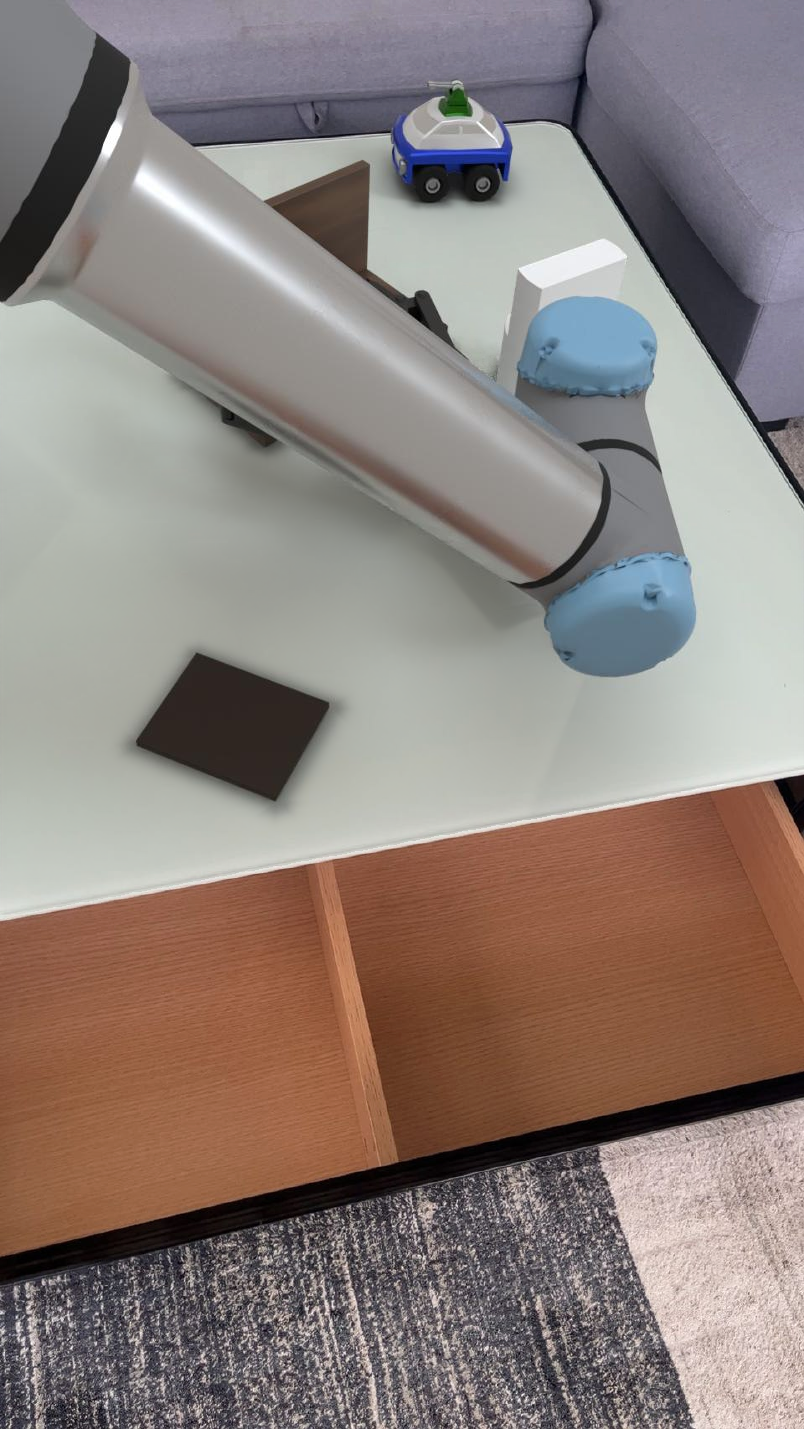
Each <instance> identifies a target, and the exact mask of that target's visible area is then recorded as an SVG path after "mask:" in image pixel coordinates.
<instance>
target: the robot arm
mask: <svg viewBox="0 0 804 1429" xmlns="http://www.w3.org/2000/svg"><path fill="white" fill-rule="evenodd" d="M404 295H405V294H404ZM404 295H395V294H393V293H392V292H391V291H389V290H388V289H386V288H385V287H383V286H382V285H381V284H379V283H378V282H375V281H372V280H371V281H369V282H368V281H367V280H366V279H364V278H363V277H361V276H360V275H359V274H357V273H356V272H355V271H353V270H352V269H350V268H349V267H348V266H346V265H345V264H344V263H342V262H341V261H340V260H338V259H337V258H336V257H335V256H333V255H332V254H331V253H329V252H328V251H327V250H326V249H324V248H323V247H322V246H320V245H319V244H318V243H317V242H315V241H314V240H313V239H311V238H310V237H309V236H308V235H306V234H305V233H304V232H302V231H301V230H300V229H299V228H297V227H296V226H295V225H293V224H292V223H291V222H290V221H288V220H287V219H286V218H284V217H283V216H282V215H280V214H279V213H278V212H277V211H275V210H274V209H273V208H271V207H270V206H269V205H268V204H266V203H265V202H264V200H262V199H261V198H260V197H259V196H257V194H255V193H253V191H251V190H250V189H249V188H247V187H246V186H245V185H244V184H242V183H241V182H240V181H238V180H237V179H236V178H234V177H233V176H231V174H229V173H228V172H226V171H225V169H223V168H221V167H220V165H217V164H216V163H215V162H214V161H212V160H211V159H209V157H207V156H206V155H204V154H203V153H202V152H200V151H199V150H198V149H196V148H195V147H194V146H193V145H192V144H190V142H188V141H187V140H185V139H184V138H182V136H180V135H179V134H177V133H176V132H175V131H173V129H171V128H170V127H168V126H167V125H166V124H164V123H163V122H162V121H161V120H159V118H157V117H155V116H154V115H153V113H152V112H151V109H150V106H149V104H148V102H147V98H146V93H145V89H144V86H143V81H142V77H141V73H140V69H139V67H138V64H137V63H135V62H134V61H133V60H131V59H130V58H129V57H128V56H127V55H126V54H124V53H123V52H122V51H121V50H119V49H118V48H117V47H115V46H114V45H113V44H112V43H110V42H109V41H108V40H106V38H104V37H103V36H102V35H100V34H99V33H98V32H97V31H95V30H94V29H92V27H90V26H89V25H88V24H87V23H86V22H85V21H84V20H83V19H82V18H81V16H79V15H78V14H77V13H76V12H75V11H74V10H73V8H72V7H71V6H70V5H69V3H68V2H67V1H66V0H0V303H1V304H3V305H4V306H6V307H10V308H11V307H15V306H21V305H25V304H32V303H36V302H41V301H49V302H54V303H55V304H56V305H58V306H60V307H62V308H63V309H65V310H66V311H68V312H69V313H71V314H73V315H74V316H76V317H78V318H80V320H83V321H84V322H86V323H87V324H89V325H91V326H92V327H94V328H95V329H97V330H99V331H101V332H102V333H103V334H105V335H107V336H109V337H110V338H112V339H113V340H114V341H117V342H118V343H120V344H121V345H123V346H124V347H127V348H128V349H129V350H131V351H133V352H135V353H136V354H138V355H140V357H143V358H145V359H146V360H147V361H149V362H151V363H153V365H155V366H157V367H158V368H161V369H162V370H164V371H165V372H167V373H169V374H170V375H172V376H173V377H175V378H177V379H179V380H180V381H181V382H183V383H184V384H187V385H188V386H189V387H191V388H193V389H194V390H196V391H197V392H199V393H201V394H202V393H203V394H204V395H206V396H207V397H209V398H211V399H212V400H214V401H216V402H217V403H219V404H220V408H219V411H220V419H221V422H222V423H223V424H225V425H228V426H231V427H234V428H238V429H240V430H243V431H245V430H247V431H250V432H253V433H256V434H259V435H263V436H266V437H269V438H272V439H275V440H278V441H279V442H281V443H282V444H283V445H285V446H287V447H288V448H290V449H292V450H294V452H297V453H298V454H300V455H302V456H303V457H304V458H306V459H308V460H309V461H311V462H313V463H315V464H316V465H318V466H319V467H321V468H323V469H324V470H326V471H328V472H329V473H331V474H332V475H334V476H335V477H337V478H339V479H340V480H342V481H344V482H345V483H347V484H348V485H350V486H352V487H353V488H355V489H357V490H358V491H360V492H361V493H363V494H365V495H367V496H368V497H370V498H371V499H373V500H375V501H376V502H378V503H380V504H381V505H382V506H384V507H386V508H387V509H389V510H391V511H392V512H394V513H396V514H397V515H399V516H400V517H402V518H404V519H406V520H407V521H409V522H410V523H412V524H414V525H415V526H417V527H418V528H420V529H421V530H423V531H425V532H426V533H428V534H430V535H431V536H433V537H434V538H436V539H438V540H440V541H441V542H442V543H445V545H447V546H449V547H451V548H452V549H454V550H456V551H457V552H458V553H460V554H462V555H464V556H466V557H467V558H468V559H470V560H472V561H473V562H475V563H477V564H478V565H480V566H482V567H483V568H485V569H486V570H488V571H489V572H491V573H493V574H494V575H496V576H498V577H499V578H502V579H503V580H504V581H506V582H507V583H509V584H510V585H512V586H514V587H515V588H516V589H518V590H519V591H521V592H523V593H524V594H526V595H528V596H529V597H531V598H532V599H534V600H536V601H537V602H538V603H539V604H540V605H541V607H542V608H543V609H544V611H545V614H544V617H543V626H544V628H545V630H546V631H547V632H548V633H549V636H550V639H551V645H552V648H553V650H554V653H555V654H556V655H557V656H558V658H559V660H560V661H561V662H562V663H563V664H564V665H565V666H567V667H568V668H569V669H572V670H573V671H575V672H578V673H580V674H584V675H587V676H592V677H597V678H621V677H627V676H632V675H637V674H640V673H641V674H642V673H644V672H646V671H649V670H651V669H653V668H656V666H657V665H658V664H660V663H661V662H665V661H666V660H668V659H671V658H673V657H674V656H675V655H677V654H678V653H679V652H680V651H681V650H682V649H683V648H684V646H685V645H686V644H687V643H688V642H689V640H690V638H691V636H692V634H693V633H694V630H695V627H696V623H697V606H696V601H695V595H694V590H693V585H692V578H691V575H692V565H691V563H690V561H689V558H688V557H686V553H685V549H684V547H683V546H684V545H683V543H682V539H681V536H680V532H679V529H678V526H677V521H676V519H675V515H674V512H673V509H672V505H671V502H670V497H669V494H668V491H667V487H666V484H665V480H664V476H663V472H662V467H661V463H660V460H659V459H660V458H659V455H658V451H657V447H656V444H655V440H654V436H653V432H652V428H651V425H650V421H649V417H648V415H647V414H648V413H647V411H646V397H647V392H648V391H649V388H650V386H652V385H653V381H654V379H655V373H654V368H655V364H656V357H657V353H658V339H657V335H656V332H655V330H654V328H653V326H652V324H651V323H650V322H649V320H647V319H646V317H645V316H644V315H643V314H642V313H640V311H637V310H636V309H634V308H633V307H631V306H629V305H628V304H625V303H623V302H620V301H618V300H617V301H615V300H612V299H609V298H604V297H598V296H595V297H581V296H572V297H568V298H564V299H560V300H557V301H555V302H553V303H551V304H549V305H547V306H545V307H544V308H543V309H541V310H540V311H539V312H538V313H537V314H536V315H535V317H534V318H533V320H532V321H531V323H530V325H529V328H528V332H527V336H526V340H525V343H524V347H523V351H522V354H521V358H520V360H519V361H518V362H517V368H516V369H517V371H518V377H517V383H516V390H515V396H514V395H512V394H511V393H510V392H509V391H507V390H506V389H505V388H503V387H502V386H501V385H500V384H498V383H497V382H496V380H495V379H493V378H492V377H490V376H489V375H488V374H487V373H485V372H484V371H483V370H482V369H481V368H479V367H478V366H477V365H476V364H474V363H472V362H471V361H470V359H469V358H468V357H467V356H466V355H464V354H463V353H462V352H461V351H460V350H459V349H458V348H457V347H456V346H455V344H454V342H453V340H452V337H451V335H450V334H449V331H448V332H447V329H446V327H445V325H444V323H445V322H444V320H443V319H442V317H441V315H440V312H439V311H438V309H437V307H436V304H435V303H434V300H433V299H432V296H431V294H430V292H428V291H427V290H424V289H419V290H417V291H415V292H414V296H412V297H411V296H410V297H408V296H406V295H405V296H406V297H405V296H404ZM407 297H408V298H407ZM443 322H444V323H443ZM203 394H202V395H203ZM204 395H203V396H204ZM207 397H206V398H207ZM247 431H246V432H247Z"/></svg>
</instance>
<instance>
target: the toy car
mask: <svg viewBox="0 0 804 1429" xmlns="http://www.w3.org/2000/svg"><path fill="white" fill-rule="evenodd" d="M426 84H427V89H429V90H436V89H445V91H444V96H442V95H441V96H436V97H433V98H431V99H430V100H428V101H425V102H424V103H423V104H421V105H419V106H418V107H416V108H414V109H413V110H412V111H410V113H409V114H400V115H397V117H396V119H395V121H394V125H393V127H391V128H390V144H391V145H392V149H391V158H392V163H393V166H394V168H395V171H396V173H397V174H398V175H399V176H400V178H401V179H402V181H404V183H405V184H412V182H413V184H414V188H415V191H416V195H417V196H418V197H419V199H421V200H422V201H424V202H427V203H435V202H438V201H440V200H442V199H443V198H445V197H446V195H447V194H448V193H449V191H450V186H451V180H450V175H449V173H458V174H461V178H462V181H463V185H464V188H465V191H466V194H467V195H468V196H469V198H471V199H472V200H474V201H476V202H484V201H487V200H490V199H491V198H493V197H495V195H496V194H497V192H498V191H499V189H500V185H501V180H502V182H508V181H509V177H510V171H511V170H510V169H511V160H512V155H513V149H514V146H513V142H512V137H511V134H510V132H509V130H508V129H507V126H506V125H505V123H503V122H502V121H501V119H500V118H499V117H497V116H496V115H495V114H494V113H491V112H490V111H488V110H487V109H485V108H484V107H483V106H482V105H480V103H478V102H477V101H475V100H474V99H472V98H471V97H469V96H468V94H467V91H465V90H464V89H465V86H464V84H463V82H462V80H460V79H458V78H453V79H451V80H450V81H435V80H427V82H426ZM498 170H499V172H498ZM499 174H500V175H499ZM500 177H501V179H500Z"/></svg>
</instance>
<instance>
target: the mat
mask: <svg viewBox="0 0 804 1429" xmlns="http://www.w3.org/2000/svg"><path fill="white" fill-rule="evenodd" d="M329 708H330V702H329V701H326V700H324V699H321V698H318V697H316V696H314V695H311V694H308V693H305V692H304V691H303V692H302V691H300V690H298V689H295V688H292V687H289V686H288V685H287V686H286V685H284V684H281V683H279V682H276V681H273V680H271V679H269V678H266V677H263V676H260V675H258V674H255V673H253V672H251V671H250V672H249V671H247V670H244V669H242V668H240V667H236V666H234V665H232V664H229V663H226V662H223V661H221V660H218V659H215V658H213V657H210V656H208V655H205V654H202V653H199V652H195V654H194V656H193V657H192V658H191V659H190V661H189V663H188V664H187V666H186V667H185V668H184V670H183V671H182V673H181V674H180V676H179V677H178V678H177V680H176V682H175V683H174V684H173V686H172V687H171V689H170V690H169V692H168V693H167V694H166V696H165V698H164V699H163V700H162V702H161V703H160V705H159V706H158V707H157V709H156V711H155V712H154V714H153V715H152V716H151V718H150V719H149V721H148V722H147V724H146V725H145V727H144V728H143V730H142V731H141V732H140V735H138V737H137V739H136V740H135V743H136V746H137V747H139V748H142V749H144V750H147V751H149V752H151V753H154V754H156V755H159V756H162V757H163V758H167V759H169V760H171V761H174V762H177V763H178V764H181V765H184V766H186V767H189V768H191V769H194V770H196V771H199V772H201V773H204V774H206V775H209V776H212V777H215V778H217V779H218V780H221V781H224V782H226V783H229V784H232V785H233V786H236V787H239V788H242V789H244V790H247V791H249V792H252V793H254V794H256V795H259V796H261V797H264V798H267V799H268V800H272V801H274V802H276V801H277V800H278V798H279V796H280V795H281V793H282V791H283V789H284V787H285V786H286V784H287V782H288V781H289V779H290V777H291V776H292V774H293V772H294V770H295V769H296V766H297V765H298V763H299V761H300V760H301V758H302V756H303V755H304V753H305V751H306V749H307V747H308V745H309V744H310V743H311V740H312V739H313V736H315V733H316V731H317V729H318V728H319V726H320V725H321V722H322V721H323V720H324V717H325V715H326V714H327V712H328V710H329Z"/></svg>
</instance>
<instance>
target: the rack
mask: <svg viewBox="0 0 804 1429" xmlns="http://www.w3.org/2000/svg"><path fill="white" fill-rule="evenodd" d="M370 178H371V164H370V163H369V162H367V161H366V160H364V159H360V160H359V161H356V162H354V163H351V164H348V165H345V166H344V167H341V168H339V169H337V170H334V171H332V172H330V173H326V174H325V175H321V176H319V177H318V178H315V179H313V180H310V181H307V182H305V183H302V184H301V185H298V186H296V187H293V188H291V189H288V190H286V191H283V192H281V193H278V194H277V195H274V196H271V197H269V198H266V199H264V200H263V201H264V202H265V203H266V204H268V205H269V206H270V207H271V208H273V209H274V210H275V211H277V212H278V213H279V214H280V215H282V216H283V217H284V218H286V219H287V220H288V221H290V222H291V223H292V224H293V225H295V226H296V227H297V228H299V229H300V230H301V231H302V232H304V233H305V234H306V235H308V236H309V237H310V238H311V239H313V240H314V241H315V242H317V243H318V244H319V245H320V246H322V247H323V248H324V249H326V250H327V251H328V252H329V253H331V254H332V255H333V256H335V257H336V258H337V259H338V260H340V261H341V262H342V263H344V264H345V265H346V266H348V267H349V268H350V269H352V270H353V271H355V272H356V273H357V274H359V275H360V276H361V277H363V278H364V279H366V280H367V281H368V282H369V281H371V280H372V281H375V282H378V283H379V284H381V285H382V286H383V287H385V288H386V289H388V290H389V291H391V292H392V293H393V294H395V295H404V296H405V297H407V298H409V297H408V296H407V295H405V294H404V293H402V292H401V291H399V290H398V289H396V288H395V287H394V286H392V285H391V284H390V283H388V282H387V281H385V280H384V279H382V278H381V277H380V276H378V275H377V274H375V273H374V272H372V270H369V269H368V259H369V258H368V255H369V254H368V253H369V252H368V251H369V221H370V220H369V219H370V217H369V215H370V188H371V186H370V182H371V179H370ZM443 323H444V325H445V327H446V329H447V332H448V333H449V325H448V324H446V323H445V322H444V321H443ZM201 395H203V396H204V397H206V399H208V400H209V401H210V402H211V403H213V404H214V406H216V407H217V408H218V409H220V404H219V403H217V402H216V401H214V400H212V399H211V398H209V397H207V396H206V395H204V394H203V393H201ZM244 431H245V432H246V433H248V435H250V436H251V437H252V438H253V439H255V440H256V441H257V442H258V443H259V444H260V445H261V446H263V448H266V447H268V446H271V445H272V444H274V443H276V442H278V441H279V440H275V439H272V438H269V437H266V436H263V435H259V434H256V433H253V432H250V431H247V430H244Z"/></svg>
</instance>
